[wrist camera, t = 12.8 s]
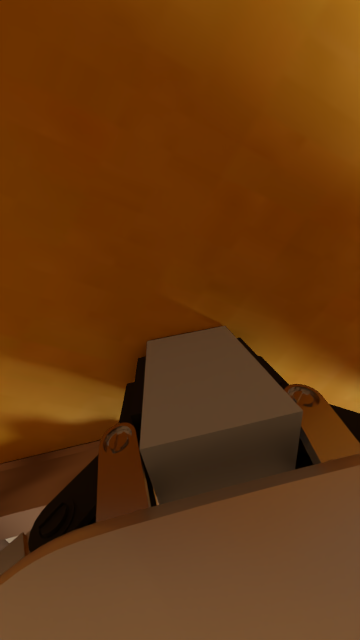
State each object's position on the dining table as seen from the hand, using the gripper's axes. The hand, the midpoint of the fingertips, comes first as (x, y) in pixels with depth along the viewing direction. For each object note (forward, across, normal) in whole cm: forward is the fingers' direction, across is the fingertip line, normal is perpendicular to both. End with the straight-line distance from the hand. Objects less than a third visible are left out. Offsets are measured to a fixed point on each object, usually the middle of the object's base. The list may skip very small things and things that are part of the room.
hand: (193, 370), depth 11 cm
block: (0, 0, 0) cm, 0 cm away
